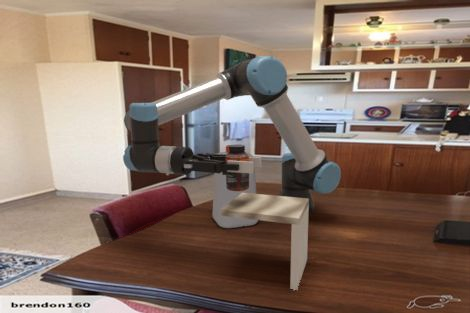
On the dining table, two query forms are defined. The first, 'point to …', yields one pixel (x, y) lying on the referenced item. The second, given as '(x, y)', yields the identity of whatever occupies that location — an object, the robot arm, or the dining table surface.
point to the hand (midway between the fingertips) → (257, 165)
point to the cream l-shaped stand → (282, 212)
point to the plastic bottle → (230, 199)
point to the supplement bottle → (233, 178)
